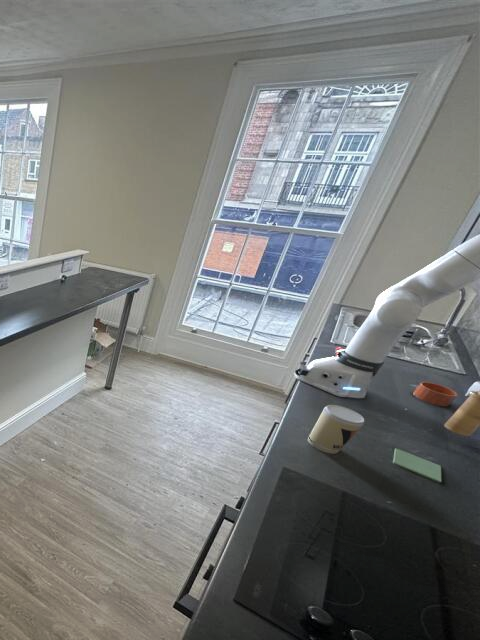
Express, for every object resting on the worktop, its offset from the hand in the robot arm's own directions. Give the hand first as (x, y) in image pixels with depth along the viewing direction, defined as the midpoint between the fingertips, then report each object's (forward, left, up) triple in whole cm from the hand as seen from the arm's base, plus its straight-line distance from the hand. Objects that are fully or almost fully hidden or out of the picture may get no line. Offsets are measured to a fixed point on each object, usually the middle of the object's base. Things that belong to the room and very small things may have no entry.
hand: (479, 401), depth 104 cm
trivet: (-1, -1, -23) cm, 23 cm away
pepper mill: (+1, +1, -9) cm, 9 cm away
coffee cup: (-22, -13, -23) cm, 34 cm away
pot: (+2, +59, -23) cm, 63 cm away
